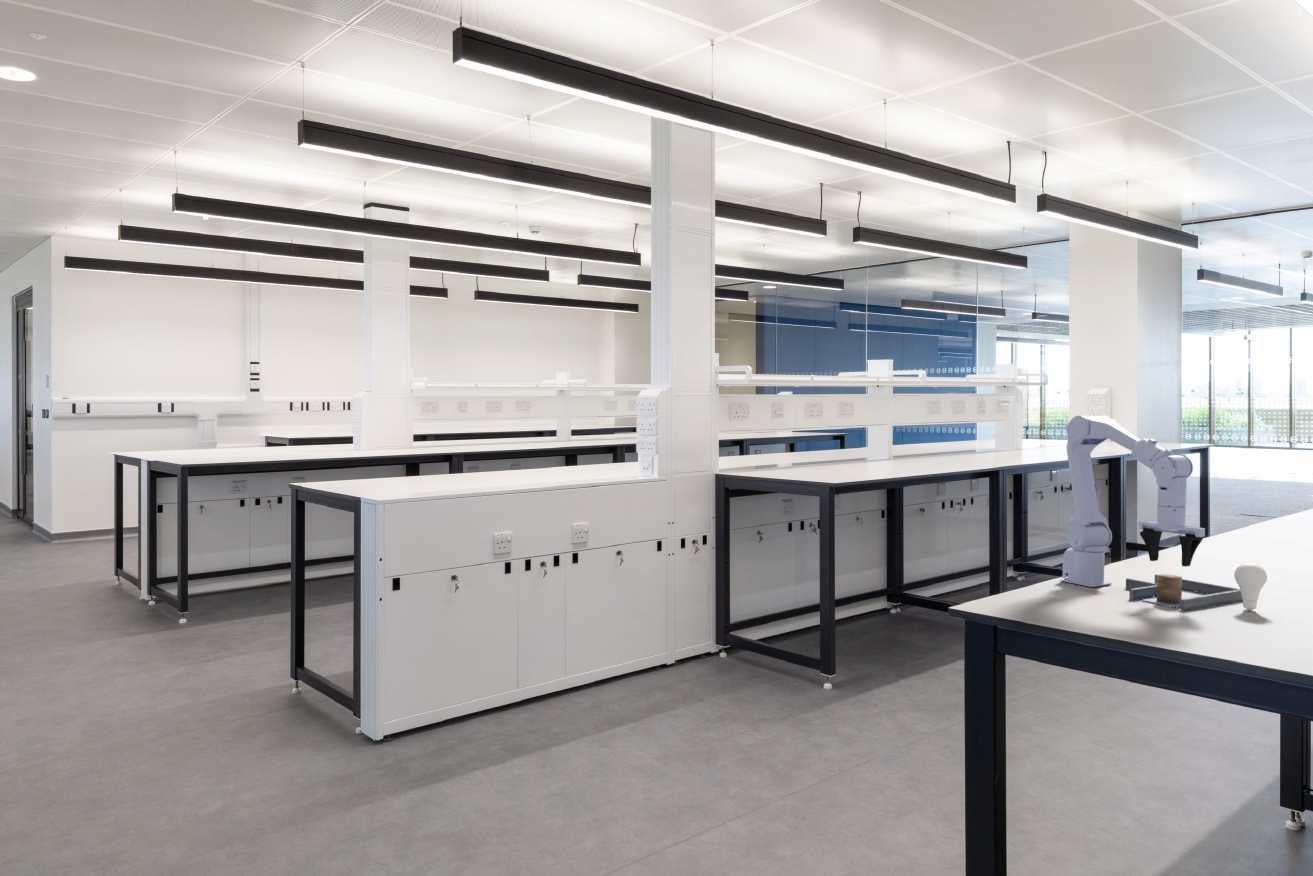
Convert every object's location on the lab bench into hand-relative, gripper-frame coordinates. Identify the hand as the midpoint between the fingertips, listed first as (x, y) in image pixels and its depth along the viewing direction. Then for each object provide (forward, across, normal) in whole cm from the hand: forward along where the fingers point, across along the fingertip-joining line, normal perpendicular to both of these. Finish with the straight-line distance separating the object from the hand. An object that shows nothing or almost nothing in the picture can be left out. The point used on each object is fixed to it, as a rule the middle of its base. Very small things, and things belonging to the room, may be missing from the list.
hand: (1169, 563), depth 201 cm
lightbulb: (+10, -13, -9) cm, 19 cm away
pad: (+9, 0, 0) cm, 9 cm away
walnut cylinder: (+9, 0, 0) cm, 9 cm away
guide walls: (+9, +4, -7) cm, 13 cm away
